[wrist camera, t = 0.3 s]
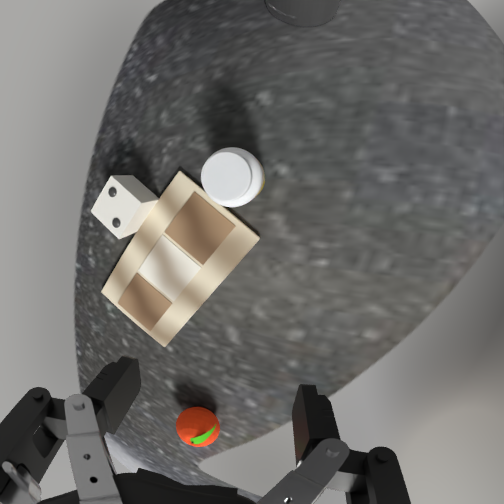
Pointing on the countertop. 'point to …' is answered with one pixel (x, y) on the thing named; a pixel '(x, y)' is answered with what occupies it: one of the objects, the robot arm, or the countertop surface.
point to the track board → (177, 259)
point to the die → (124, 205)
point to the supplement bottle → (232, 177)
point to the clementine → (197, 426)
